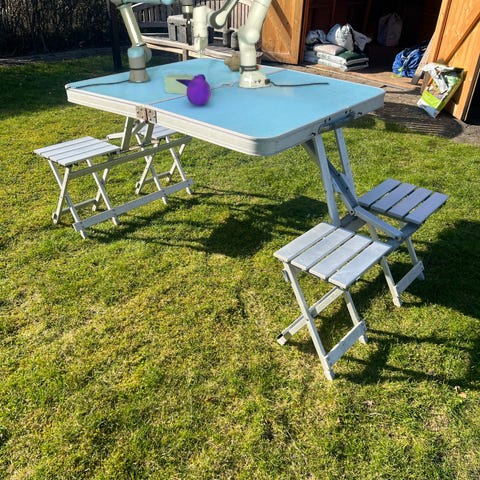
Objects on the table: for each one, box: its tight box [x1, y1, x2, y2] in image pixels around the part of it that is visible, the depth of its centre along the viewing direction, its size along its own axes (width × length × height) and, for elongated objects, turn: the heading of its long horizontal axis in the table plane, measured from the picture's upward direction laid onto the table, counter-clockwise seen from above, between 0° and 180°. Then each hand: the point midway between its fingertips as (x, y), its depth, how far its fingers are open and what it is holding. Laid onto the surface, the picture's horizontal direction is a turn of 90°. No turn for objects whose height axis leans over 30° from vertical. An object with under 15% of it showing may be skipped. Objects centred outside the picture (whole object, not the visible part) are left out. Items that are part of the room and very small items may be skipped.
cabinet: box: [163, 73, 198, 95], centre depth 302 cm, size 20×12×10 cm, turn 70°
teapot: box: [223, 50, 240, 72], centre depth 366 cm, size 21×12×15 cm, turn 120°
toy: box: [176, 73, 212, 107], centre depth 271 cm, size 16×18×27 cm
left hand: (190, 44), depth 335 cm, fingers open, 13 cm apart
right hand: (201, 56), depth 291 cm, fingers open, 8 cm apart
